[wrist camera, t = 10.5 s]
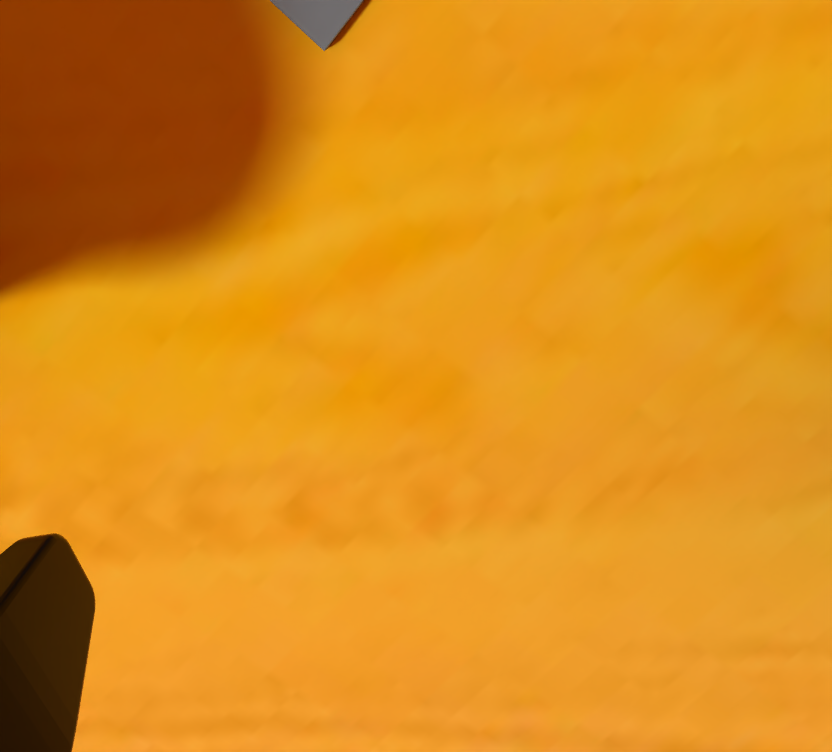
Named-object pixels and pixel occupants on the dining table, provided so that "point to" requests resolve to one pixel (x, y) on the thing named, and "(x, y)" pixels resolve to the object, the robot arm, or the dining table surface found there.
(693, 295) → the dining table surface
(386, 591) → the dining table surface
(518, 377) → the dining table surface
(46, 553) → the robot arm
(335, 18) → the mat
